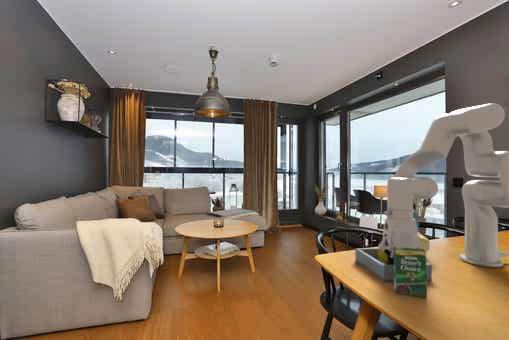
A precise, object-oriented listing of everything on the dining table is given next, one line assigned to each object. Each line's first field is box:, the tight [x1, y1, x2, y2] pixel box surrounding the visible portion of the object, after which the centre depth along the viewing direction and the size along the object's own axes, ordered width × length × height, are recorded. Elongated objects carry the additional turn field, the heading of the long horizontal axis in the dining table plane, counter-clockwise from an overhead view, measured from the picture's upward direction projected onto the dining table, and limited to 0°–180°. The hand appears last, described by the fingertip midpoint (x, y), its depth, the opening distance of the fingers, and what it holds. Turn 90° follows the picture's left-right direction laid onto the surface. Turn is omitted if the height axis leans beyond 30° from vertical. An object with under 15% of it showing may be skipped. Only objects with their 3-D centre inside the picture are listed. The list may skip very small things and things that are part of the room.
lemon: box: [378, 246, 392, 265], centre depth 94 cm, size 6×6×8 cm
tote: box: [354, 247, 433, 283], centre depth 91 cm, size 16×18×5 cm
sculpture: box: [418, 231, 431, 253], centre depth 105 cm, size 11×12×11 cm
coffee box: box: [393, 247, 428, 298], centre depth 74 cm, size 8×3×13 cm, turn 69°
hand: (399, 267), depth 86 cm, fingers closed on walnut cube, 5 cm apart
